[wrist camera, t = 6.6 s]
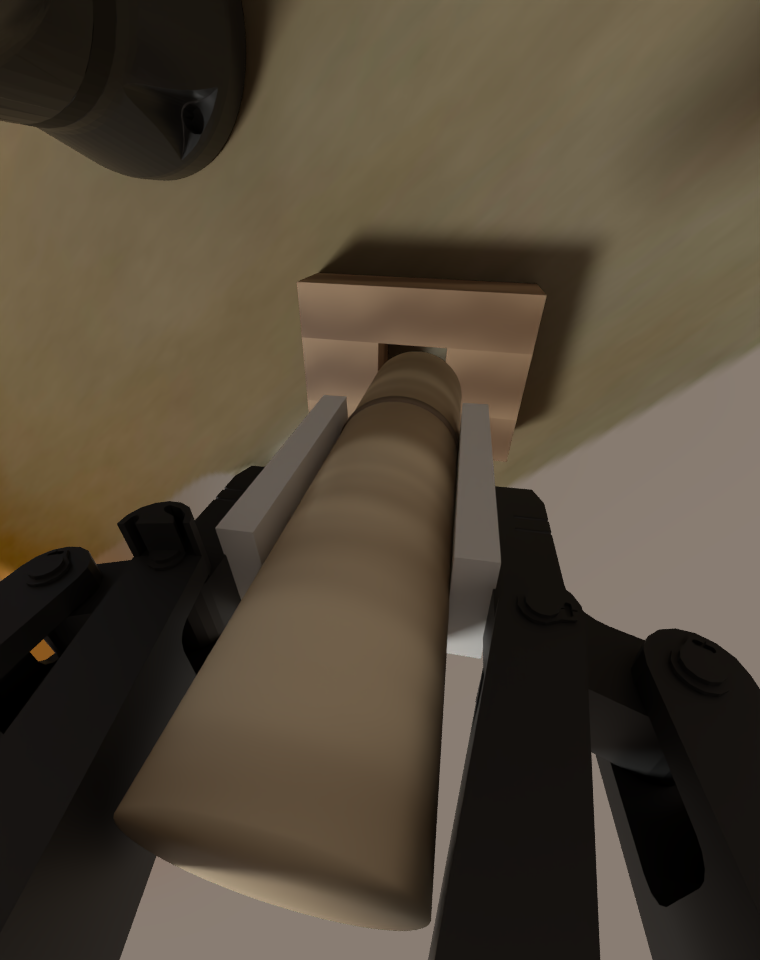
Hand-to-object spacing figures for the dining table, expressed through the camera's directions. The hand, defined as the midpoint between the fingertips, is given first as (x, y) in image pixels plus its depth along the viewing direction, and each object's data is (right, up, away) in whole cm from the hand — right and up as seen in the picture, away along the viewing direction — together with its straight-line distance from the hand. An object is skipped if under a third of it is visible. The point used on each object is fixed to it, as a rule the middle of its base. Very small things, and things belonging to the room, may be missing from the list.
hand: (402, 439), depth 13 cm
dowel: (+1, +2, +3) cm, 4 cm away
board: (+2, +9, +19) cm, 21 cm away
